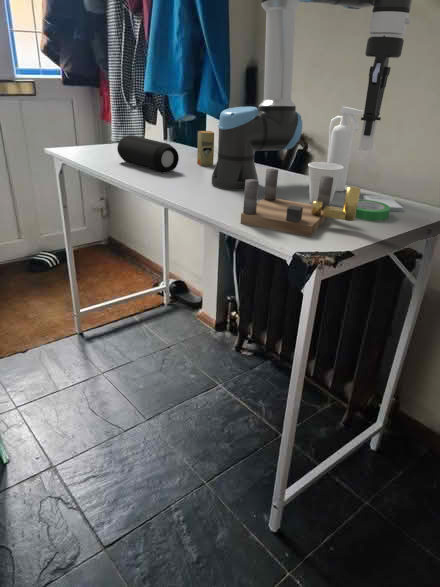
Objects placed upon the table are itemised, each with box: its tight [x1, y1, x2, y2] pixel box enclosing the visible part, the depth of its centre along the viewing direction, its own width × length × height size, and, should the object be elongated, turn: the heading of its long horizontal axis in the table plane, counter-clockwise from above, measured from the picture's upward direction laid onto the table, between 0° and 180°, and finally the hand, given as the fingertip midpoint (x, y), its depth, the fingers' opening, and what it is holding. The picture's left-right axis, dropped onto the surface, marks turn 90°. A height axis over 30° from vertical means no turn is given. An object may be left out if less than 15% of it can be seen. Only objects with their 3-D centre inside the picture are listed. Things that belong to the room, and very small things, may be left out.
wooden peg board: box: [240, 168, 333, 237], centre depth 113 cm, size 18×18×10 cm
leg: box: [311, 185, 362, 222], centre depth 109 cm, size 11×3×8 cm, turn 65°
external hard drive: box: [362, 194, 405, 212], centre depth 133 cm, size 2×8×12 cm
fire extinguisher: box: [326, 106, 364, 192], centre depth 141 cm, size 7×12×25 cm, turn 39°
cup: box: [307, 161, 344, 206], centre depth 128 cm, size 10×10×11 cm
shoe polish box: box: [196, 130, 215, 167], centre depth 169 cm, size 5×5×12 cm
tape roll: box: [355, 199, 391, 222], centre depth 123 cm, size 11×11×3 cm
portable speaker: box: [116, 134, 180, 174], centre depth 162 cm, size 26×10×10 cm, turn 45°
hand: (365, 149), depth 108 cm, fingers closed
